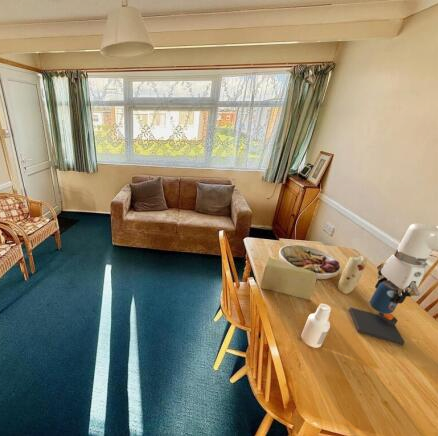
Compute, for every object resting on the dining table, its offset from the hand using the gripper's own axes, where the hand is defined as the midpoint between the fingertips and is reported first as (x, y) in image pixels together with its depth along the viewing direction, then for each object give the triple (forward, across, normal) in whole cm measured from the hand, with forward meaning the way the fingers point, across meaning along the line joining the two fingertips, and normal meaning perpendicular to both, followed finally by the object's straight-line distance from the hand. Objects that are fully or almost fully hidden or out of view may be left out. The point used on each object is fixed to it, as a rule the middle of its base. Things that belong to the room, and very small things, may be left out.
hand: (387, 294), depth 88 cm
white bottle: (+18, -8, +28) cm, 34 cm away
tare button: (+15, +3, -9) cm, 18 cm away
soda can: (+7, 0, 0) cm, 7 cm away
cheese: (+18, +20, +26) cm, 37 cm away
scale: (+18, +1, -2) cm, 18 cm away
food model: (+18, +23, -5) cm, 30 cm away
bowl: (+18, +43, +3) cm, 47 cm away
